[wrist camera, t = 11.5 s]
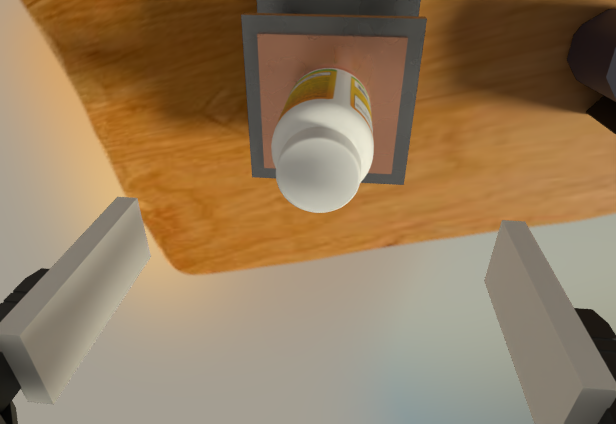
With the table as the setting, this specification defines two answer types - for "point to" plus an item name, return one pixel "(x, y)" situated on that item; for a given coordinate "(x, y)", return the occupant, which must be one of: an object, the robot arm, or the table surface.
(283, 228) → the table surface
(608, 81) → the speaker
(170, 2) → the table surface
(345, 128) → the supplement bottle
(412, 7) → the stand
